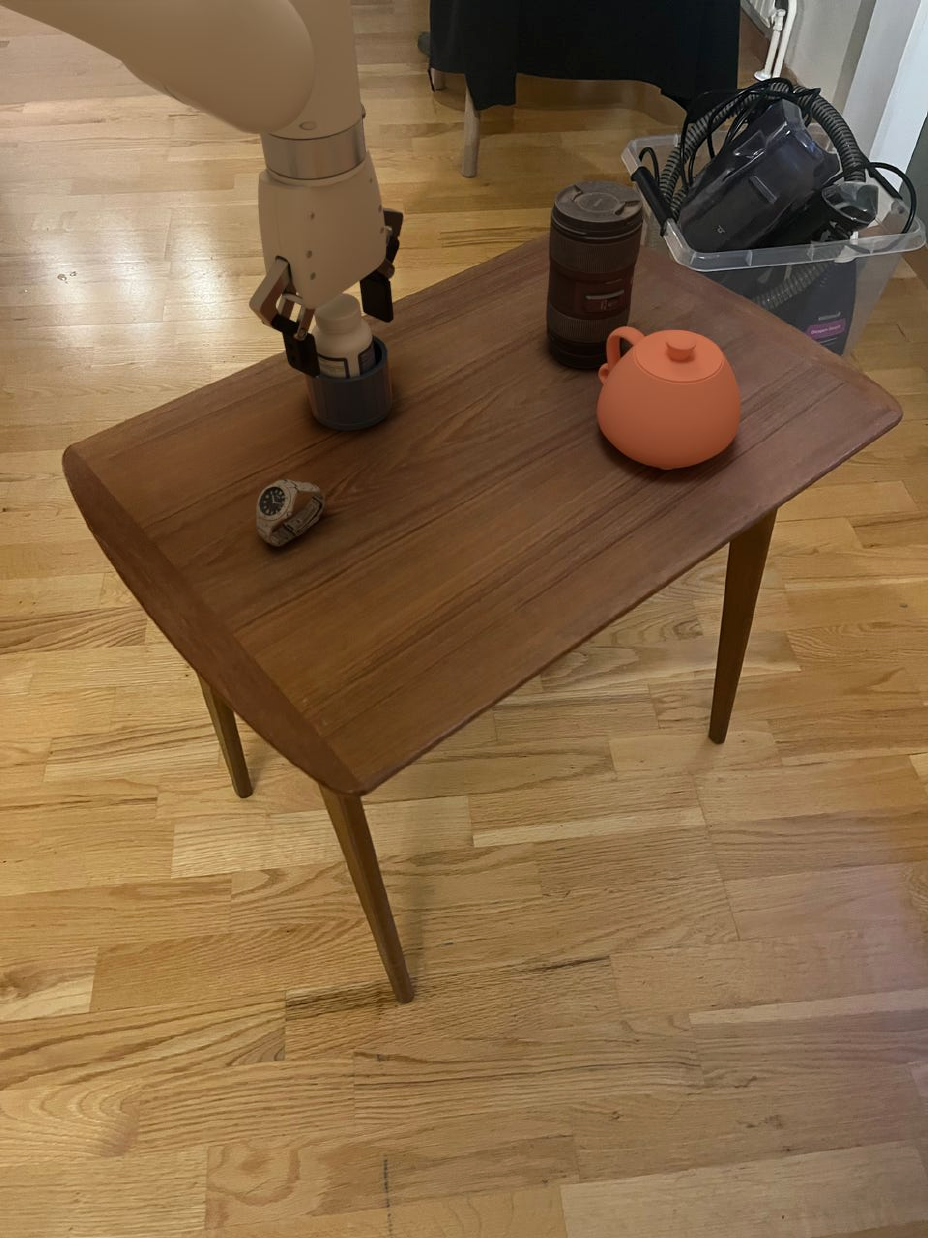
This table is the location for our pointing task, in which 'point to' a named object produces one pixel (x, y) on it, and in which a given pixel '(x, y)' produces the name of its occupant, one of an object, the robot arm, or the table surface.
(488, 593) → the table surface
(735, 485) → the table surface
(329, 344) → the pill bottle
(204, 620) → the table surface
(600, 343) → the camera lens
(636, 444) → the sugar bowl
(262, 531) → the wristwatch
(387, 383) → the cup
